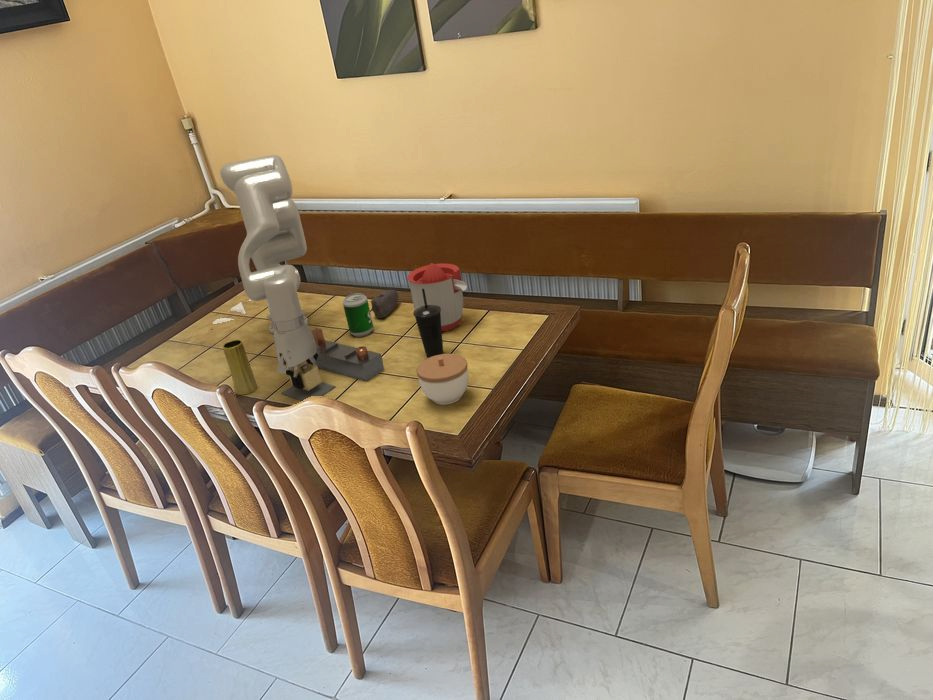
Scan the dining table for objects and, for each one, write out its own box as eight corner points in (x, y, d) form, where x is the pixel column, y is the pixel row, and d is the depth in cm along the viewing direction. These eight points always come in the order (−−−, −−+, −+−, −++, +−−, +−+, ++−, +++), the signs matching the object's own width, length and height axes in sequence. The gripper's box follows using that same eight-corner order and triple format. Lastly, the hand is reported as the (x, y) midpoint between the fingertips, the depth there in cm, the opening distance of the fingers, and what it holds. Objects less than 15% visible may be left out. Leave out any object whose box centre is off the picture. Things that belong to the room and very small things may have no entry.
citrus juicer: (462, 337, 211) (452, 273, 202) (408, 335, 217) (396, 273, 208) (479, 314, 224) (470, 253, 215) (428, 313, 230) (418, 254, 221)
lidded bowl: (414, 408, 178) (406, 369, 173) (434, 383, 188) (427, 345, 183) (461, 412, 173) (454, 372, 168) (479, 386, 184) (473, 347, 179)
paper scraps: (219, 335, 240) (217, 329, 239) (192, 331, 247) (190, 325, 246) (274, 304, 259) (272, 298, 258) (247, 300, 266) (246, 294, 265)
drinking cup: (452, 348, 205) (441, 283, 196) (442, 361, 198) (430, 294, 190) (427, 348, 207) (415, 283, 199) (417, 360, 201) (404, 294, 192)
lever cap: (291, 385, 194) (286, 366, 191) (305, 377, 197) (299, 358, 195) (308, 390, 190) (303, 371, 187) (321, 382, 193) (316, 363, 191)
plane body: (308, 365, 209) (299, 334, 204) (325, 354, 213) (317, 324, 209) (366, 381, 195) (359, 348, 190) (384, 369, 199) (377, 337, 195)
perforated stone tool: (392, 302, 243) (388, 282, 240) (406, 302, 241) (402, 283, 238) (369, 321, 231) (364, 301, 228) (383, 322, 229) (379, 302, 226)
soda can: (369, 337, 220) (361, 301, 214) (346, 338, 222) (338, 302, 216) (377, 326, 226) (369, 291, 221) (355, 327, 228) (346, 292, 223)
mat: (281, 394, 195) (281, 392, 195) (306, 378, 201) (305, 377, 201) (310, 403, 188) (310, 402, 188) (335, 387, 194) (335, 386, 194)
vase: (238, 386, 203) (223, 340, 197) (259, 382, 203) (245, 337, 197) (233, 396, 198) (218, 350, 191) (255, 393, 198) (241, 346, 191)
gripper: (304, 306, 193) (320, 366, 202) (254, 333, 182) (273, 395, 190) (323, 310, 189) (338, 371, 197) (272, 338, 178) (291, 401, 186)
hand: (306, 382), depth 194 cm, fingers closed on lever cap, 4 cm apart
